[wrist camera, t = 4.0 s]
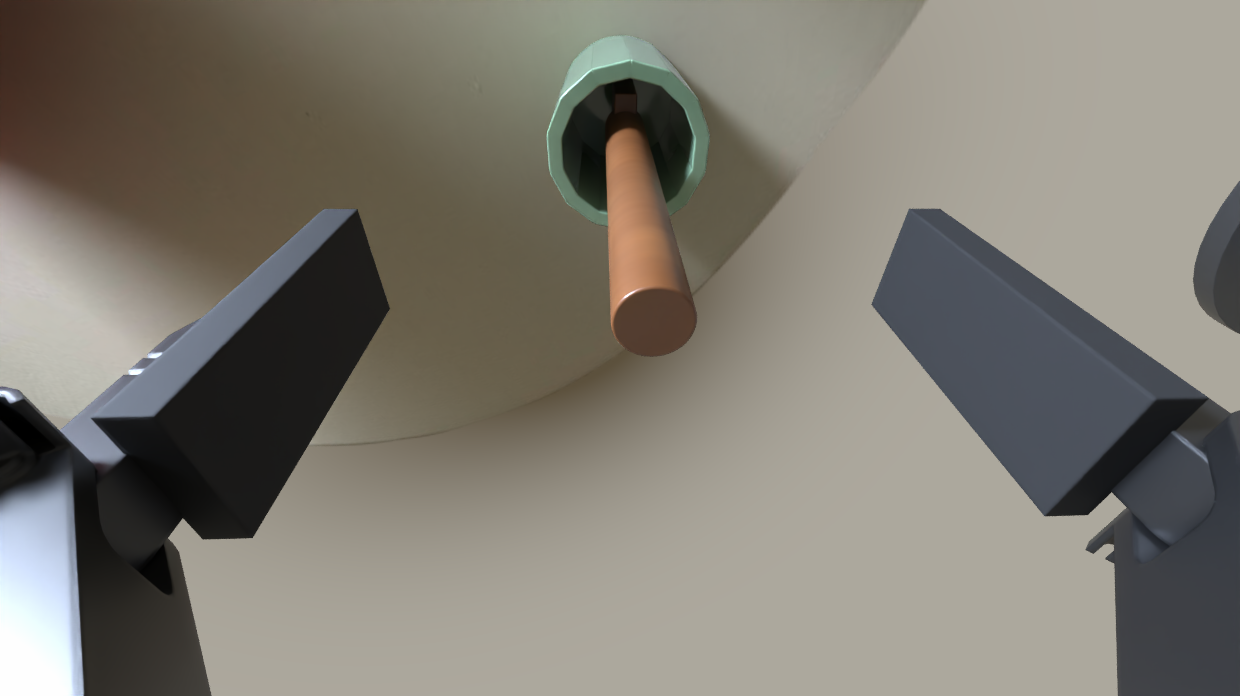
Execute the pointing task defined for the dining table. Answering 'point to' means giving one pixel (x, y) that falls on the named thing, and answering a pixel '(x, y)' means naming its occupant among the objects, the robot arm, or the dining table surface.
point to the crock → (659, 103)
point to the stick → (641, 240)
